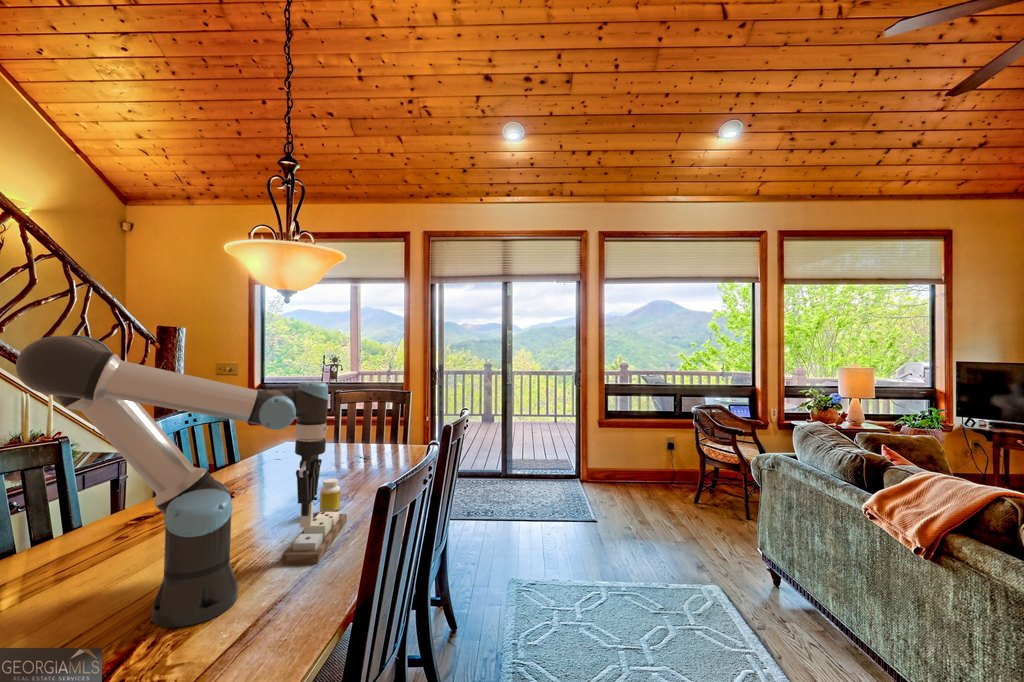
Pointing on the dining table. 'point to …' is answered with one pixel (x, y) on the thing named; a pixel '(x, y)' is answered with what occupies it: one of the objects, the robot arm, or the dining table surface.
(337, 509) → the pill bottle
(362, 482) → the dining table surface
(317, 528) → the tile two
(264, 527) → the dining table surface
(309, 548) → the tile one
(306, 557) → the tile tray
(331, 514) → the tile three
